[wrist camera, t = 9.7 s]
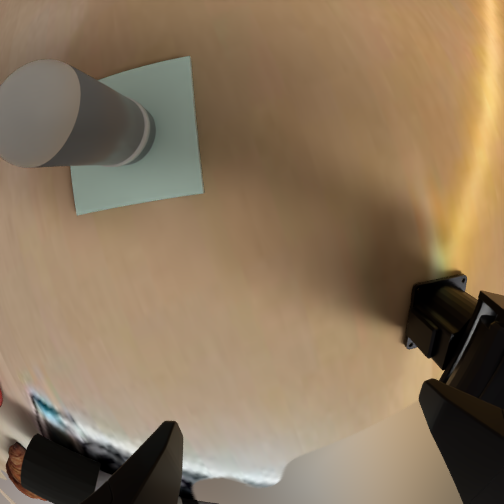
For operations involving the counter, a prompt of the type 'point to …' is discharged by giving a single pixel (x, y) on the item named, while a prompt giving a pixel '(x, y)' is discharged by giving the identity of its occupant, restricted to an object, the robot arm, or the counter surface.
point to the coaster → (162, 151)
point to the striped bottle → (64, 473)
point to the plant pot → (1, 398)
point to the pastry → (17, 468)
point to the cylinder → (69, 119)
